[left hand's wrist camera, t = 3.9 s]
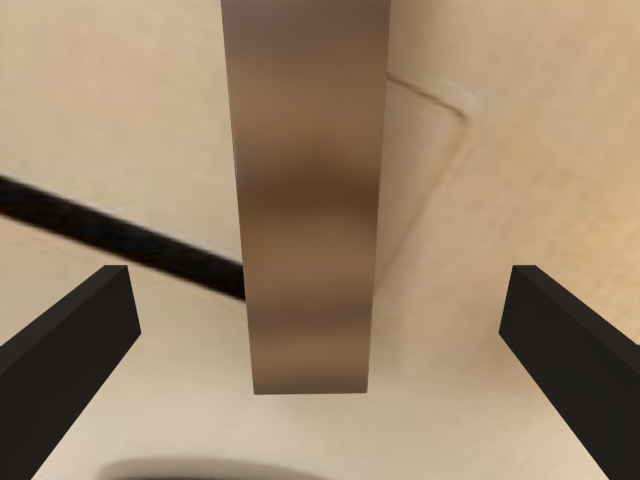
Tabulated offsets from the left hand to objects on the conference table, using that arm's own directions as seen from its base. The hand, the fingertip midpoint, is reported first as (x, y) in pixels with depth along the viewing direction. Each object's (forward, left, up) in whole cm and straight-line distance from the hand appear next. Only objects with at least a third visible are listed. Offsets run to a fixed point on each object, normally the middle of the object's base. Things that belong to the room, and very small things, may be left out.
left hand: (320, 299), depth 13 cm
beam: (+15, +26, -9) cm, 31 cm away
